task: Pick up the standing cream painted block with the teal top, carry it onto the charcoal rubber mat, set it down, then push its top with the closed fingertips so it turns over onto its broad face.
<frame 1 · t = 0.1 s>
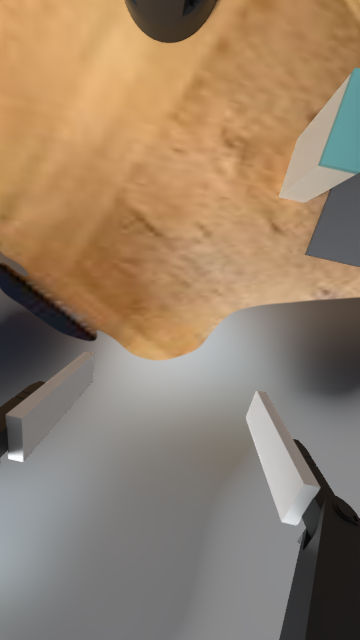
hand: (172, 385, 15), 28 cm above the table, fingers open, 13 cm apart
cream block: (301, 172, 33), on the table
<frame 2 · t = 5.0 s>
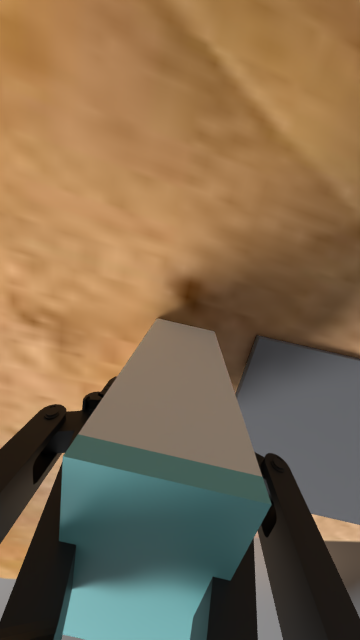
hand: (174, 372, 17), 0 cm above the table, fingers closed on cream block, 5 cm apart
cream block: (174, 370, 17), on the table, touching gripper
rubber mat: (316, 440, 18), on the table
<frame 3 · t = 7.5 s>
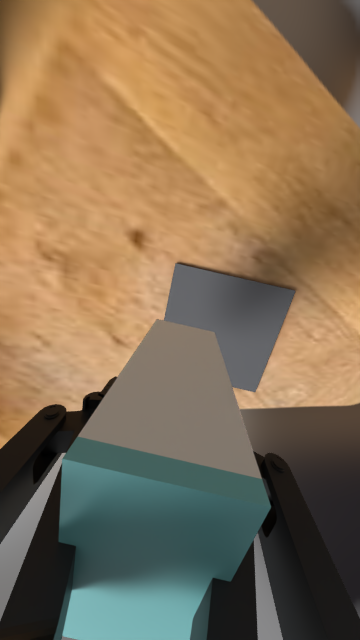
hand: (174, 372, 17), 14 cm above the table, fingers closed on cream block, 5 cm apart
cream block: (174, 371, 17), point 14 cm above the table, touching gripper
rubber mat: (218, 332, 31), on the table
when the fingers open (2 cm above the table, at t = 10.3 s): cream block stays where it is, resting on rubber mat.
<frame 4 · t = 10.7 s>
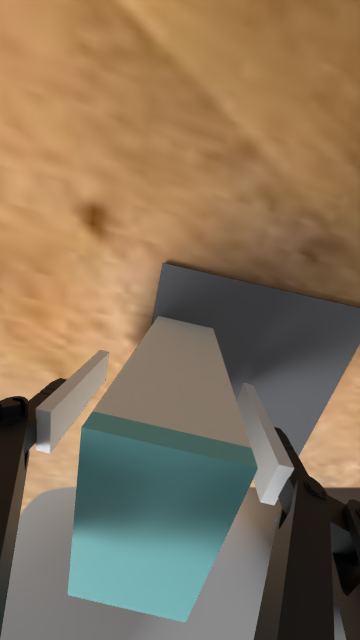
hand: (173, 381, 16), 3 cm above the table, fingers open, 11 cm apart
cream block: (175, 365, 18), point 1 cm above the table, touching rubber mat
rubber mat: (235, 376, 19), on the table
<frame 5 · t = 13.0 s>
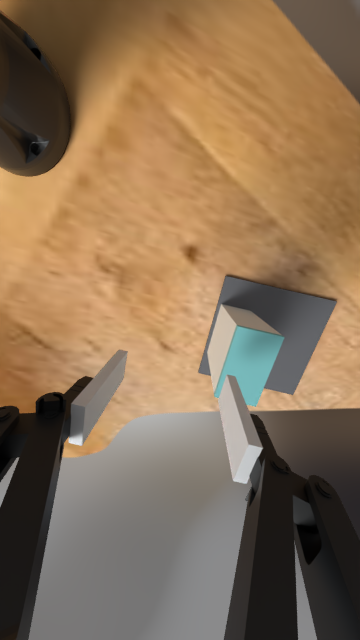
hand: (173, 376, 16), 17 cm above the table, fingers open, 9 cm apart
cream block: (228, 332, 32), point 1 cm above the table, touching rubber mat
rubber mat: (260, 338, 33), on the table
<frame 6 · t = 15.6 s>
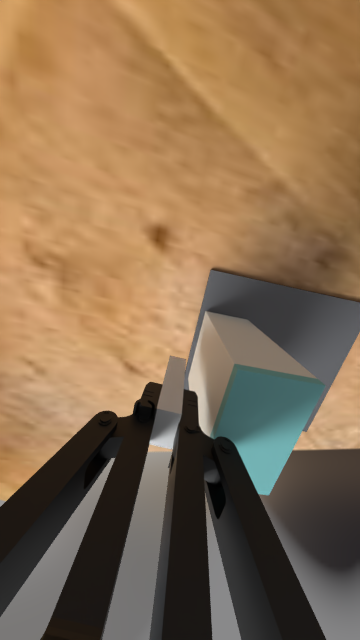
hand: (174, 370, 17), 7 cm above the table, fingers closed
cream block: (216, 350, 23), point 1 cm above the table, touching gripper, rubber mat
rubber mat: (262, 357, 23), on the table
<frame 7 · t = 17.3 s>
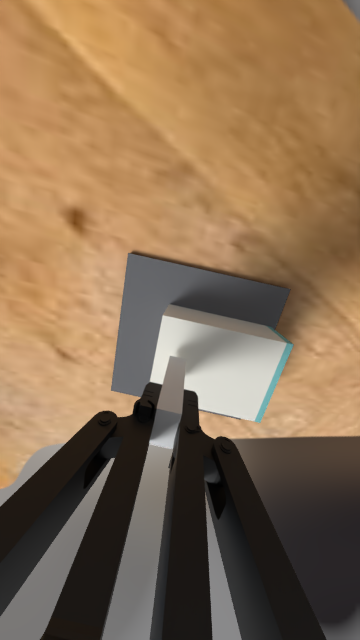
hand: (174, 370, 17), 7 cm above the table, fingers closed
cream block: (158, 348, 20), point 3 cm above the table, tilted 90°, touching rubber mat
rubber mat: (190, 343, 23), on the table
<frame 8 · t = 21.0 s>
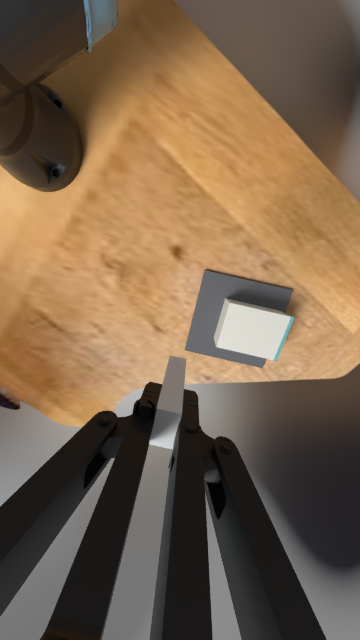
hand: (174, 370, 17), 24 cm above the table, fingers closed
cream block: (220, 321, 38), point 3 cm above the table, tilted 90°, touching rubber mat
rubber mat: (234, 321, 41), on the table
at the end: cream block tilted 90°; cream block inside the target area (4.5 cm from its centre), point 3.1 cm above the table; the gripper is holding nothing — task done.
